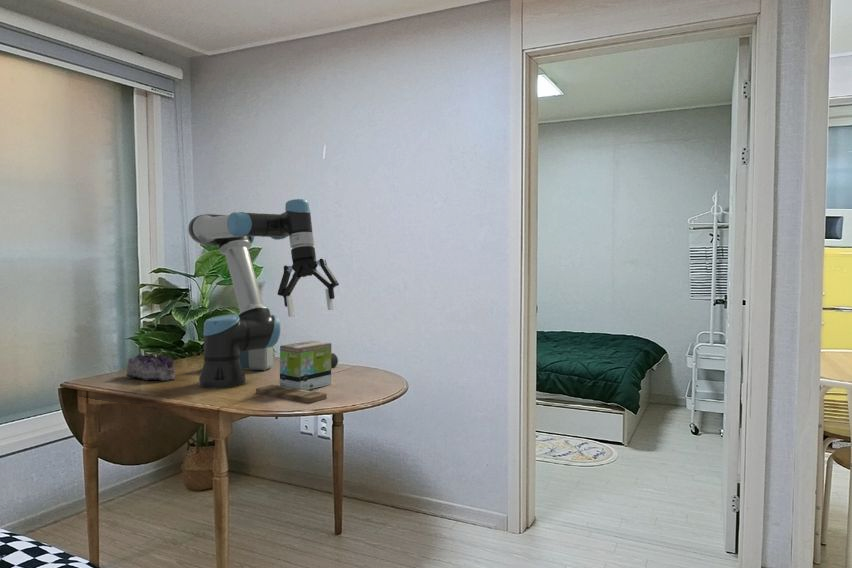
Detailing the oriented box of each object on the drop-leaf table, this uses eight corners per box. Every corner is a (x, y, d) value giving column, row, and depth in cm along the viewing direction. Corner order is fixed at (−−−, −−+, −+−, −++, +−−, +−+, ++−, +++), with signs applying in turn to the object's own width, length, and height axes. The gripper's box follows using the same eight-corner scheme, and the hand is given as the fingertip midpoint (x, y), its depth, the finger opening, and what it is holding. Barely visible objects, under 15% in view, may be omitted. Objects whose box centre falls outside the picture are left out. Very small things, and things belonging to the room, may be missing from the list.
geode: (188, 377, 217) (185, 351, 215) (162, 388, 207) (159, 360, 205) (148, 370, 225) (145, 345, 223) (121, 380, 215) (118, 354, 213)
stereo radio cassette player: (216, 369, 231) (215, 318, 230) (228, 365, 239) (227, 316, 238) (265, 371, 226) (264, 319, 226) (275, 367, 234) (275, 317, 234)
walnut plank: (256, 393, 191) (255, 388, 191) (272, 389, 197) (272, 384, 197) (310, 403, 178) (310, 397, 178) (326, 398, 184) (326, 393, 184)
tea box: (301, 393, 191) (300, 347, 191) (279, 389, 197) (278, 345, 196) (332, 384, 204) (332, 341, 203) (311, 381, 209) (310, 339, 209)
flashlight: (310, 373, 224) (310, 359, 223) (300, 372, 227) (300, 358, 226) (338, 367, 236) (338, 353, 236) (328, 365, 239) (328, 352, 239)
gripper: (261, 253, 189) (269, 319, 187) (333, 238, 184) (342, 306, 181) (273, 255, 197) (281, 319, 195) (343, 242, 191) (351, 307, 189)
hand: (311, 313), depth 188 cm, fingers open, 13 cm apart
